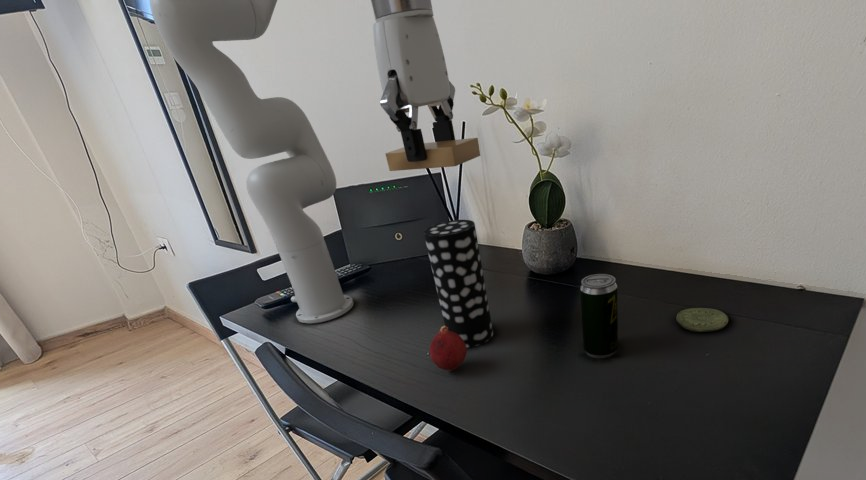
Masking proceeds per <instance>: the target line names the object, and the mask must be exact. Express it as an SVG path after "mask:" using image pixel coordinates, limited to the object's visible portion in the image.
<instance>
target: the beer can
mask: <svg viewBox="0 0 866 480" xmlns="http://www.w3.org/2000/svg"><path fill="white" fill-rule="evenodd" d="M579 290H580V291H579V292H580V307H581V309H580V311H581V325H582V343H583V350H584V352H585V353H586V355H587V356H589V357H590V358H593V359H607V358H610V357H613V356H614V355H615V354H616V353H617V350H618V348H619V322H618V321H619V313H618V312H619V311H618V310H619V309H618V308H619V307H618V301H619V299H618V284H617V283H616V277H614V275H611V274H607V273H596V274H590V275H587V276H585V277H584V278H582V279H581V285H580V287H579Z"/></svg>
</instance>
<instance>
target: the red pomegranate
mask: <svg viewBox="0 0 866 480" xmlns="http://www.w3.org/2000/svg"><path fill="white" fill-rule="evenodd" d="M467 350H468V347H467V348H466V345H465V342H464V340H463V339H462V338H461V337H460V336H459V335H458V334H456V333H454V332H452V331H448V327H447V326H445V325H442V326H441V327H440V329H439V331H438V332H437V333H436V334H435V335H434V337H433V338H432V339H431V341H430V344H429V354H430V355H429V357H430V359H431V361H432V362H433V364H434V365H435V366H436V367H437V368H439V369H442V370H445V371H449V372H450V371H451V372H453V371H454V372H455V371H456V370H457V368H458V367H460V366H461V365H462V364H463V363H464V361H465V359H466V357H467V352H468V351H467Z"/></svg>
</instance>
